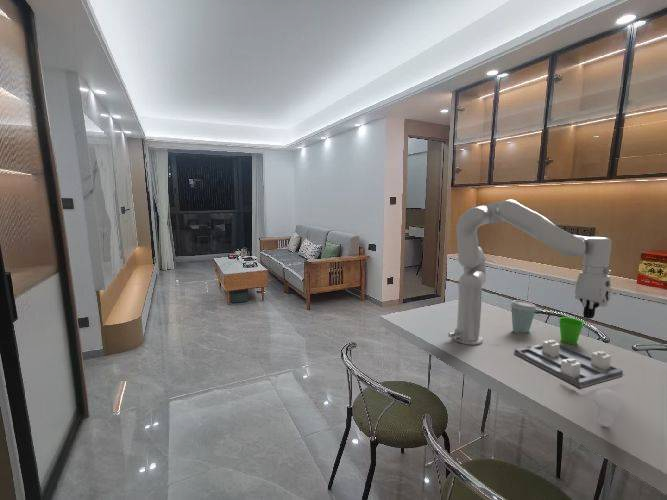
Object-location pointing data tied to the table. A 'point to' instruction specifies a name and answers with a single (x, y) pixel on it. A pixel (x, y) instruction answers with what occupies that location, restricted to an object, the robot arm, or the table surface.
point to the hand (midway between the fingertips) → (588, 317)
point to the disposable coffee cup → (522, 316)
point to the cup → (570, 329)
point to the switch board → (554, 363)
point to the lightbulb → (607, 405)
